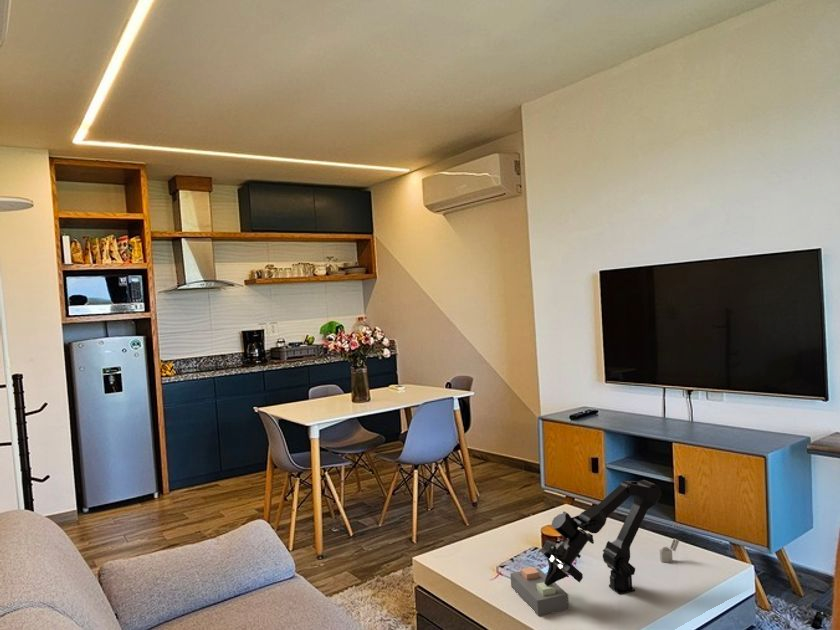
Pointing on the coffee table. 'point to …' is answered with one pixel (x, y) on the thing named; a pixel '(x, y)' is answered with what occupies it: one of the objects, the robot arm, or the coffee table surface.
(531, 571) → the terracotta key
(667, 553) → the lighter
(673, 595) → the coffee table surface
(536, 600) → the keypad
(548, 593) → the sage key
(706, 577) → the coffee table surface
